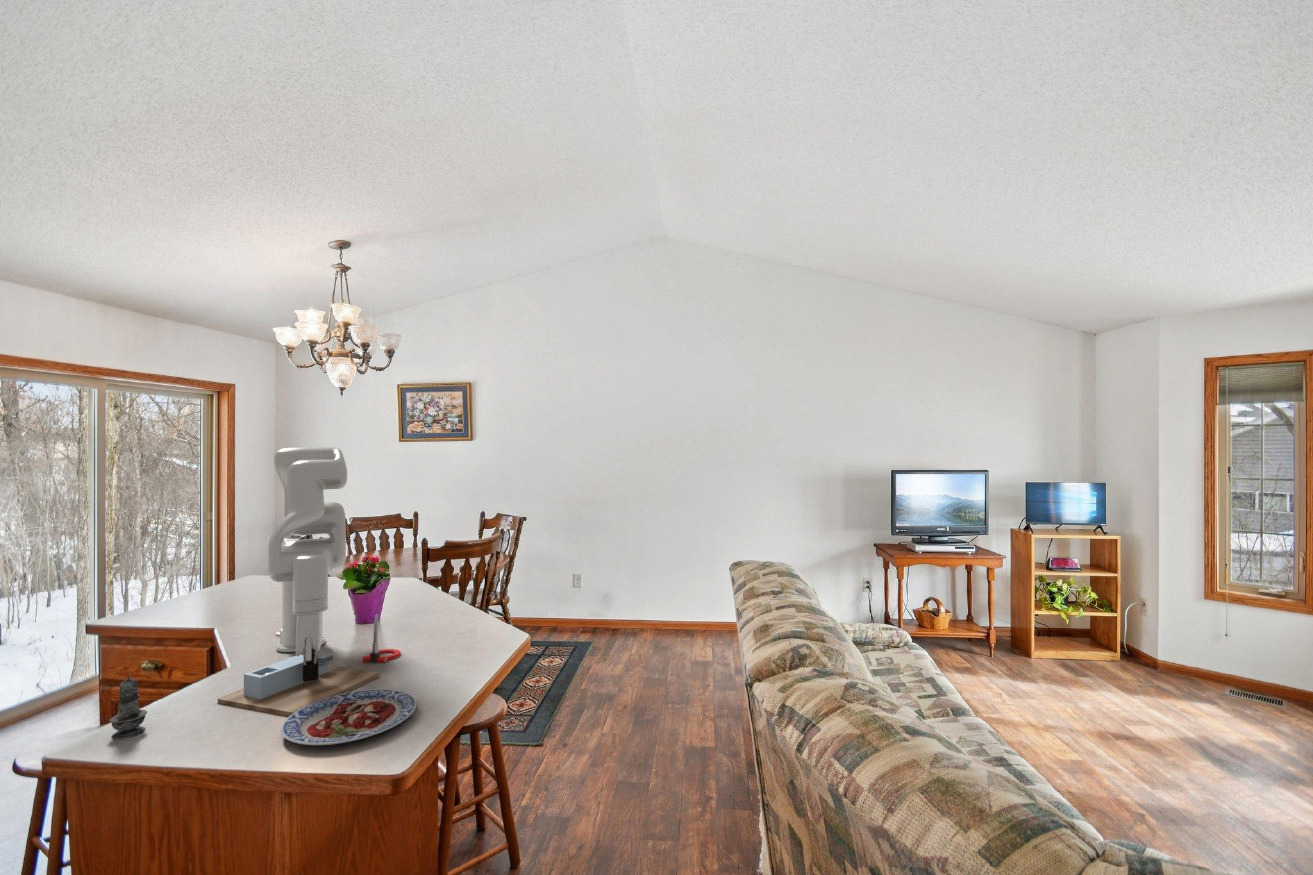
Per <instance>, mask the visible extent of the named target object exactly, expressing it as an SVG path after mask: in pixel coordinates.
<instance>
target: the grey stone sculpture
mask: <svg viewBox="0 0 1313 875" xmlns="http://www.w3.org/2000/svg"><path fill="white" fill-rule="evenodd" d="M138 684H139V683H138V680H137V679H135V678H131V676H130V674H129V675H127V677H126V679H125V680H123V681H121V683H119V697H118V698H117V700H116V701H117V702H118V712H117V714H116V715H114V716H112V717H111V718H110V719H109V723H111V726H112V728H113V729H114V730H116V732H114V733H113V734H112V735H111V739H112V740H125V739H128V738H129V739H130V738H133V737H136V736H138V735H140V734H143V733H144V732H145V731H146V727H145V726H141V725H142V723H143V722H144V721H145V718H146V715H147V714H148V710H147V709H140V706H139V698H140V696H141V694H139V689H138V688H139V685H138Z"/></svg>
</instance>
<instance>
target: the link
mask: <svg viewBox="0 0 1313 875" xmlns="http://www.w3.org/2000/svg"><path fill="white" fill-rule="evenodd" d="M303 664H304V660H303V655H299V656H294V655H293V656H292V657H289V658H286V659H283V660H279V661H277V662H274V663H271V664H269V665H266V666H263V667H260V668H257V669H254V670H252V671H248V672H245V673H243V689H244V696H248V697H253V698H257V699H263V698H265V697H268V696H270V695H273V694H275V693H278V692H281V691H283V690H286V689H288V688H291V687H293V686H296V685H298V684H301V683H303V682H304V681H303ZM329 666H330V664H329V663H328V662H326V663H319V675H321V674H324V673H326V672H329ZM267 672H270V673H268V674H265V675H264V673H267Z"/></svg>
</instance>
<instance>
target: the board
mask: <svg viewBox="0 0 1313 875" xmlns="http://www.w3.org/2000/svg"><path fill="white" fill-rule="evenodd" d="M379 676H380V674H379V672H375V671H370V670H369V671H367V670H361V669H353V668H348V667H340V666H334V665H329V672H326V673H324V674H321V675H319V676H318V679H317V680H313V681H306V682H303V683H301V684H298V685H296V686H293V687H291V688H288V689H286V690H283V691H281V692H278V693H275V694H273V695H270V696H268V697H265V698H263V699H257V698H253V697H248V696H244V688H242V689H241V688H240V689H239V690H237V691H234V692H232V693H229V694H226V695H224V696H221V697H219V698H217V704H220V705H226V706H230V707H236V708H242V709H246V710H247V709H248V710H253V711H257V712H258V711H259V712H263V713H269V714H275V715H278V716H285V717H289V716H291V715H292V714H293V713H295V712H296V711H298V710H300V709H302V708H303V707H305V706H307V705H309V704H312V703H314V702H317V701H319V700H322V699H325V698H328V697H332V696H335V695H339V694H344V693H349V692H352V691H353V690H355V689H357V688H359V687H361V686H363V685H365V684H367V683H369V682H371V681H374V680H375V679H377V678H379Z"/></svg>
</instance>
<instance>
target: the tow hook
mask: <svg viewBox="0 0 1313 875" xmlns="http://www.w3.org/2000/svg"><path fill="white" fill-rule="evenodd" d="M379 623H380V622H379V614H375V615H374V622H373V636H372V638H373V641H372V647H371V648H372V650H371V652H369V653H368V654H367V655H364V656H363V657H362V661H363V662H370V663H387V661H388V660H393V659H396V658H398V657H400V656H401V651H400V650H399V649H394V648H386V649H380V650H379V645H380V644H379V643H380V642H379V626H380V625H379ZM382 654H383V656H381V655H382ZM384 654H390V655H384Z"/></svg>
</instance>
